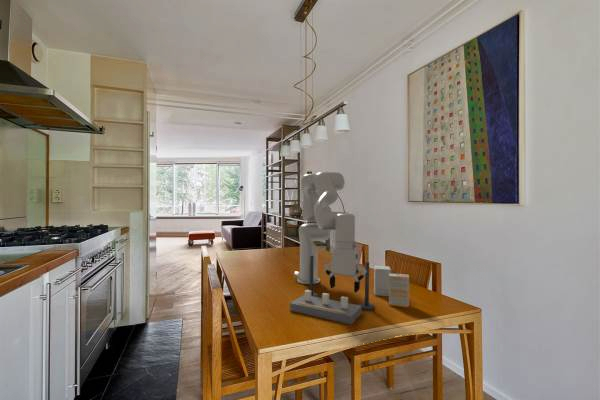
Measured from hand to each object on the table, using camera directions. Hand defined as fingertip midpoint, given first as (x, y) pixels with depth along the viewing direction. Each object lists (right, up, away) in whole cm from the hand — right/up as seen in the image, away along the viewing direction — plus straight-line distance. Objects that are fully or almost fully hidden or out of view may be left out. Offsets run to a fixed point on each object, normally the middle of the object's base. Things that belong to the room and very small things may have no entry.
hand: (344, 289), depth 114 cm
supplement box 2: (+25, -11, +12) cm, 30 cm away
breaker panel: (-7, -10, +4) cm, 13 cm away
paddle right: (0, -7, 0) cm, 7 cm away
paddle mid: (-7, -7, +4) cm, 11 cm away
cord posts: (-1, -10, +15) cm, 18 cm away
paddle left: (-14, -7, +8) cm, 17 cm away
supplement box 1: (+22, -11, +28) cm, 37 cm away
